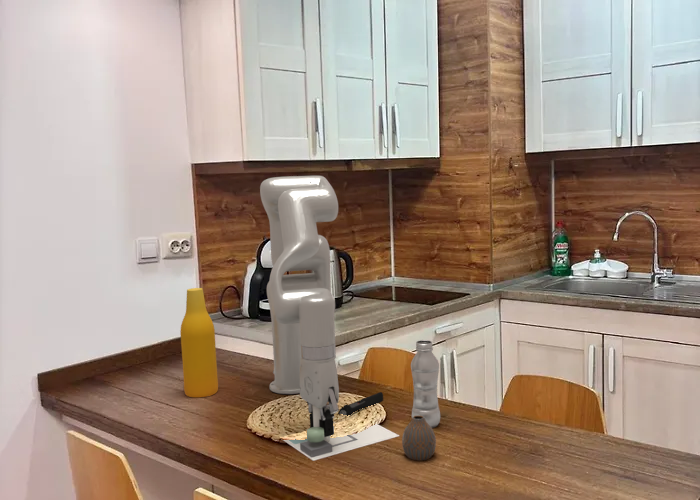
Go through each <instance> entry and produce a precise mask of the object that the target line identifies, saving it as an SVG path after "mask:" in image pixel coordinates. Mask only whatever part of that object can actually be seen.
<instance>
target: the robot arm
mask: <svg viewBox="0 0 700 500" xmlns="http://www.w3.org/2000/svg"><path fill="white" fill-rule="evenodd" d="M259 189H260V192H259V193H260V194H259V195H260V200H261V203H262V206H263V208H264V210H265V212H266V214H267V219H268V220H269V233H270V234H269V235H270V238H269V239H270V257H271V264H272V268H271V272H270V274H269V281H268V282H267V285H266V296H267V301H268V305H269V309H270V310H269V311H270V318H271V319H270V320H271V334H272V350H273V353H272V354H273V372H272V373H273V374H274V380H272V382H270V384H269V390H270V391H271V392H273V393H275V394H279V395H295V394H296V395H297V394H299V396H300V398H301V399H302V400H304V401H305V402H306V403H307V405H308V406H307V407H308V408H307V410H308V413H309V428H312V427H314V426H313V405H314V406H316V407H318V408H320V415H321V419H319V427H321V428H323V429H324V437H327V436H331V435H333V434H334V426H333V423H334V418H335V414H336V413H337V412H339V410H340V409H339V405H338V403H339V401H340V399H339V398H340V396H339V395H340V389H339V380H338V378H339V376H338V369H337V363H336V360H335V359H336V358H337V354H336V353H337V351H336V350H337V349H336V348H337V347H336V327H335V326H336V325H335V311H336V299H335V296H334V294H332V286H331V284H332V281H331V278H332V277H331V272H332V271H331V248H330V245H329V242H328V240H327V239H326V237H325V236H323V235H321V234H319V233H318V227H317V223H324V222H326V223H328V222H333V221H335V220H336V218H337V217H338V214H339V201H338V198H337V195H336V192H335V189H334V188H333V186H332V185H331V184H330V182H329V181H328V179H327V178H326V177H324V176H323V175H298V176H297V175H293V176H292V175H291V176H289V175H288V176H276V177H275V176H274V177H268V178H267V179H264V180H263V181H262V182H261V183H260V186H259ZM297 271H299V272H300V271H312V272H311V273H307V272H306V273H292V274H285V273H286V272H297ZM328 401H329V403H328V404H327V402H328ZM328 407H329V409H327V410H326V411H325V409H324V408H328Z"/></svg>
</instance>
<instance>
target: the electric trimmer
mask: <svg viewBox="0 0 700 500" xmlns="http://www.w3.org/2000/svg"><path fill="white" fill-rule="evenodd" d="M383 401H384V394H383V392H381V391H380V392H377V393H375V394H372V395H370V396H367V397H363V398H362V399H359V400H357V401H355V402H352V403H350V404H344V405H343V406H342V407H340V409H339V411H338V413H337V415H338V414H343V415H347V416H348V415H351V414H352V413H353V412H355V411H357V410H359V409H362V408H365V407H368V406H371V405H374V404H376V403H378V404H379V403H381V402H383ZM376 405H377V404H376ZM374 406H375V405H374ZM365 409H366V408H365ZM352 415H353V414H352ZM352 415H351V416H352Z"/></svg>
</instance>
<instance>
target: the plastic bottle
mask: <svg viewBox="0 0 700 500" xmlns="http://www.w3.org/2000/svg"><path fill="white" fill-rule="evenodd" d="M415 345H416V346H415V350H416V354H415V355H414V356H413V358H412V360H411V362H410V369H411V376H412V381H413V382H412V383H413V384H412V385H413V405H412V409H411V418H412V417H413V416H416V415H421V416H423V417H424V418H425V420H426V422H427V423H428V424H429V425H430V427H431V428H432V429H434V428H436V427H438V425H439V424H440V421H441V412H440V406H439V400H438V399H439V397H438V378H439V371H440V370H439V369H440V362H439V360H438V358H437V357H436V355H435V354H434V353H433V351H434V346H433V341H432V340H427V339H425V340H423V339H422V340H421V339H420V340H416V342H415Z"/></svg>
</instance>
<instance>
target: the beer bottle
mask: <svg viewBox="0 0 700 500" xmlns="http://www.w3.org/2000/svg"><path fill="white" fill-rule="evenodd" d="M184 313H185V314H184V316H183V319H182V321H181V325H180V330H179V331H180V344H181V358H182V375H183V390H184V394H185V396H187V397H190V398H196V399H199V398H200V399H201V398H206V397H210V396H213V395H215V394H216V393H217V392H218V391H219V380H218V365H217V350H216V349H217V348H216V347H217V346H216V336H215V335H216V332H215V326H214V325H215V324H214V322H213V320H212V318H211V316H210V313H209V312H208V310H207V306H206V300H205V294H204V288H202V287H193V288H188V289H186V306H185V312H184Z"/></svg>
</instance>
